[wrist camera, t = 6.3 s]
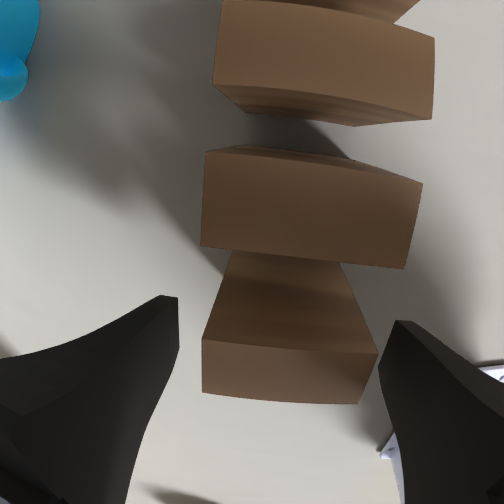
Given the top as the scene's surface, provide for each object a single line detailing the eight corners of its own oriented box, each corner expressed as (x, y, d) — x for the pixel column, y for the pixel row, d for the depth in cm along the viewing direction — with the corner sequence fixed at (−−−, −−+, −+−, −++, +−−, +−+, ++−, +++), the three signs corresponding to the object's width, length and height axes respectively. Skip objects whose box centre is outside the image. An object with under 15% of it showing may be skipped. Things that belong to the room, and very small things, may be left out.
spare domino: (327, 295, 15) (357, 404, 8) (232, 285, 15) (202, 392, 8) (335, 256, 14) (378, 353, 7) (234, 245, 14) (201, 339, 8)
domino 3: (354, 126, 12) (431, 119, 5) (244, 112, 12) (211, 84, 5) (358, 82, 11) (434, 38, 5) (249, 67, 11) (222, -1, 5)
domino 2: (343, 204, 13) (403, 269, 7) (237, 191, 13) (200, 245, 7) (350, 159, 12) (423, 183, 6) (241, 144, 13) (205, 151, 6)
